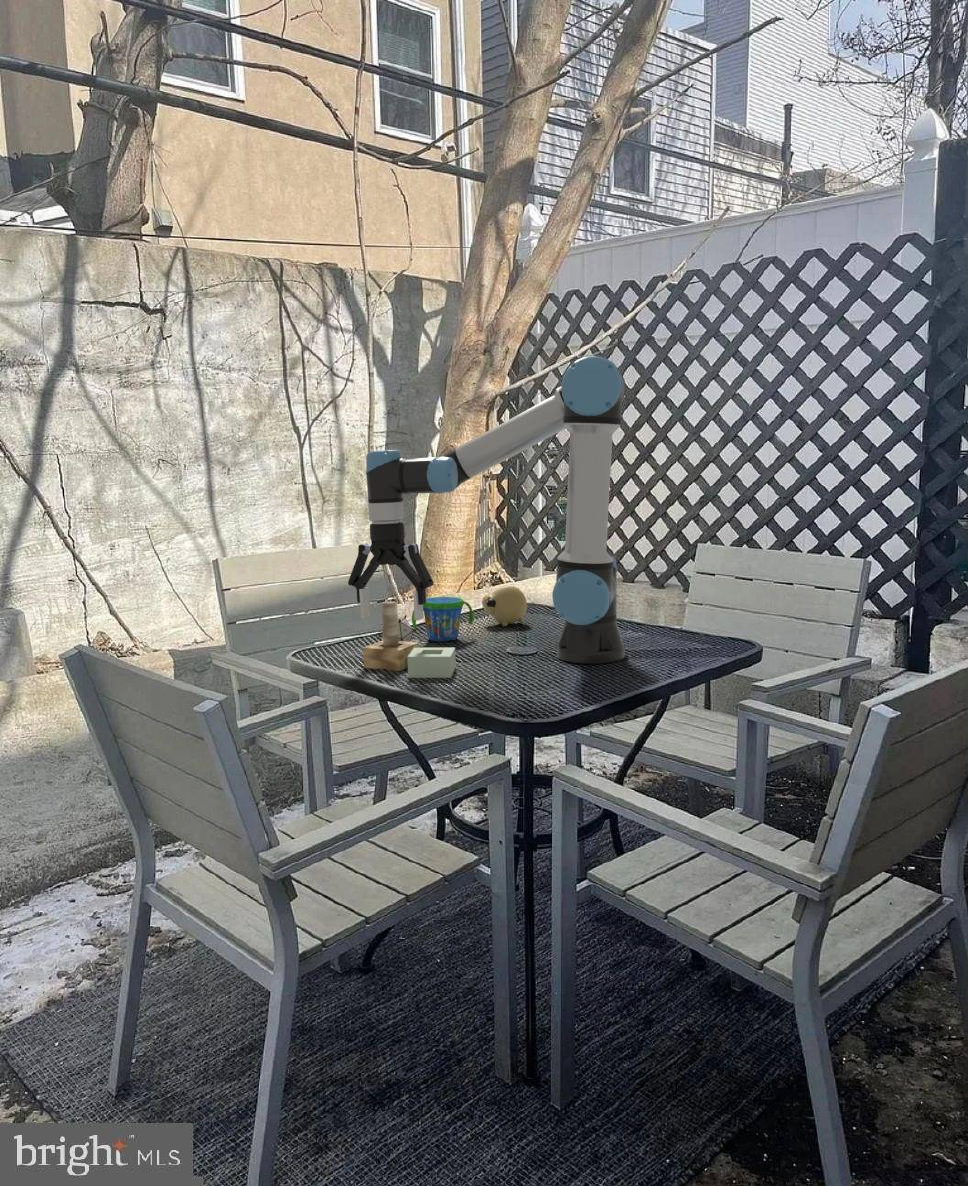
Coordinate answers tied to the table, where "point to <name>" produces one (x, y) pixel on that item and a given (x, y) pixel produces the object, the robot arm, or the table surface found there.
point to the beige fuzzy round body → (506, 605)
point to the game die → (404, 630)
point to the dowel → (390, 624)
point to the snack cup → (443, 617)
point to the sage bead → (431, 663)
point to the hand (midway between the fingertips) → (392, 618)
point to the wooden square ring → (388, 655)
